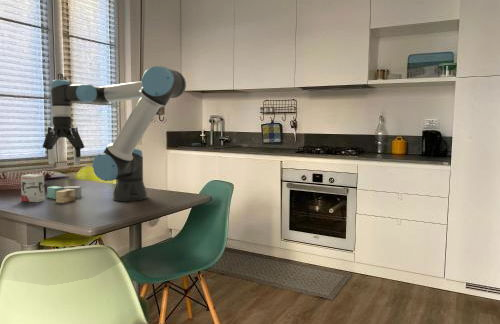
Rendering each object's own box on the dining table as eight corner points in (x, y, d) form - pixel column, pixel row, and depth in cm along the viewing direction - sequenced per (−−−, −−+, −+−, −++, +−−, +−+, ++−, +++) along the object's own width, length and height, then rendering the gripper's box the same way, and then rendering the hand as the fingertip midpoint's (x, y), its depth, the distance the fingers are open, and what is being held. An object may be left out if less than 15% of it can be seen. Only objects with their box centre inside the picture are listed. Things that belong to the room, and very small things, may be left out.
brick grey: (81, 196, 191) (81, 186, 190) (79, 198, 187) (78, 187, 186) (66, 196, 190) (65, 186, 189) (63, 198, 186) (62, 187, 185)
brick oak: (67, 199, 182) (67, 188, 182) (75, 200, 181) (74, 189, 181) (56, 202, 176) (55, 191, 175) (63, 203, 175) (63, 191, 174)
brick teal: (47, 197, 188) (47, 187, 187) (56, 196, 191) (55, 186, 191) (55, 199, 184) (54, 188, 183) (63, 198, 187) (63, 187, 186)
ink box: (20, 201, 177) (19, 175, 176) (29, 199, 182) (28, 173, 181) (37, 202, 175) (36, 175, 174) (45, 200, 180) (44, 174, 179)
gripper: (91, 116, 175) (93, 164, 177) (45, 116, 182) (47, 162, 184) (79, 115, 168) (81, 165, 170) (32, 116, 175) (34, 164, 177)
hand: (64, 164), depth 177 cm, fingers open, 13 cm apart
